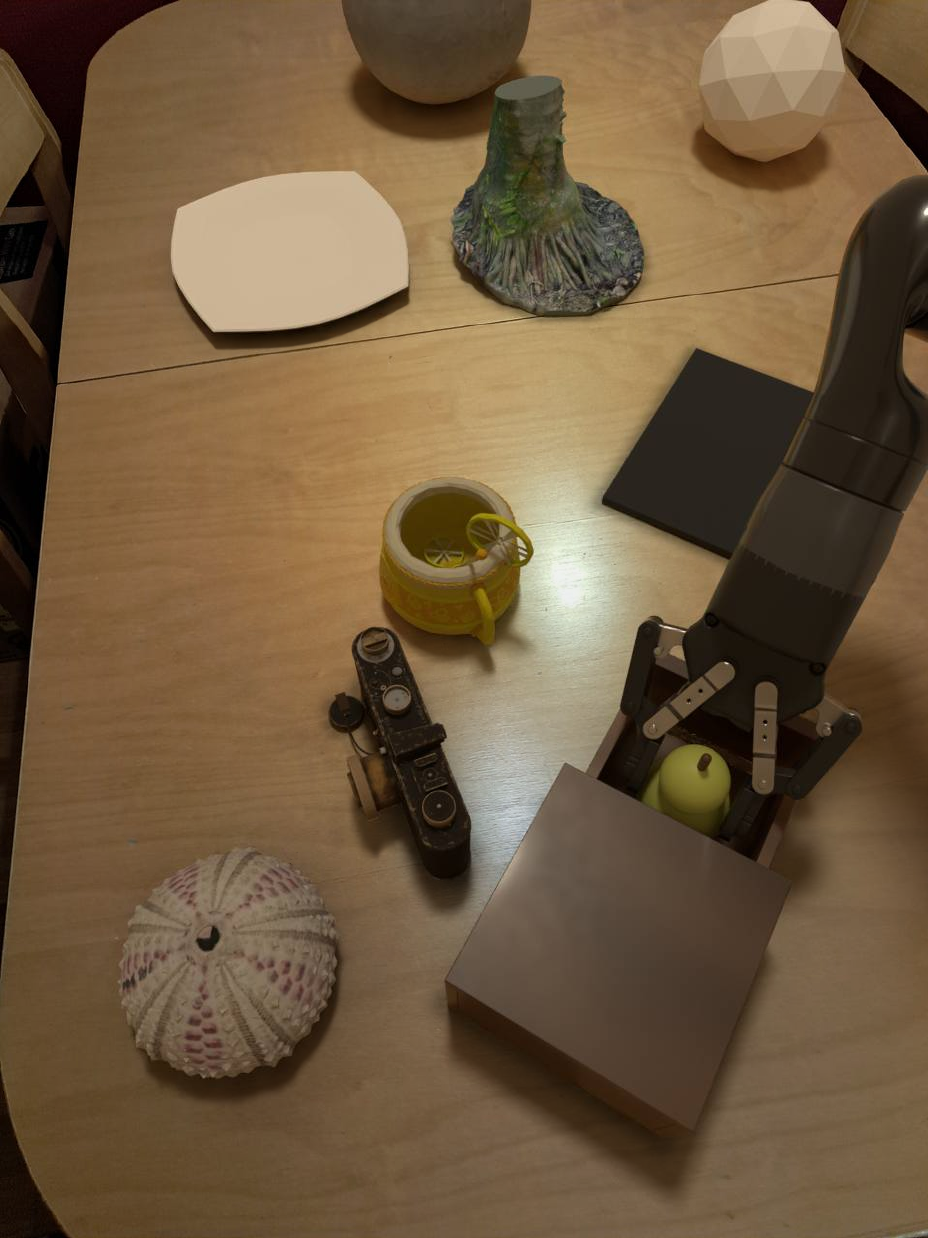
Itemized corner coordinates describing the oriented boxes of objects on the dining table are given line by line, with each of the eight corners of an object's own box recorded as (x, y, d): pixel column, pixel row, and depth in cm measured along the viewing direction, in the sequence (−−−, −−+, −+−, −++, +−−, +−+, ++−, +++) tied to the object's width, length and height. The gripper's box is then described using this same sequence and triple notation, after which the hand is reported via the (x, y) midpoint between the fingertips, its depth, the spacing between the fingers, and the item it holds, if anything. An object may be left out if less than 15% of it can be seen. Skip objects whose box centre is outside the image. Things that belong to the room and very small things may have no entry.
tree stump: (531, 352, 88) (503, 159, 75) (425, 277, 101) (385, 101, 87) (683, 271, 92) (682, 75, 79) (563, 209, 105) (545, 31, 91)
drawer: (652, 643, 70) (669, 595, 65) (824, 724, 67) (858, 681, 61) (544, 844, 63) (551, 809, 57) (732, 947, 59) (761, 922, 53)
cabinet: (553, 809, 65) (565, 762, 57) (753, 916, 61) (793, 880, 54) (447, 1005, 58) (444, 980, 51) (663, 1138, 55) (693, 1133, 47)
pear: (729, 802, 63) (774, 739, 54) (696, 877, 60) (736, 824, 51) (650, 762, 64) (680, 693, 55) (614, 833, 62) (639, 774, 53)
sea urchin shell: (280, 1123, 55) (254, 1116, 48) (87, 1027, 58) (35, 1007, 51) (378, 911, 61) (367, 877, 54) (199, 833, 64) (167, 791, 57)
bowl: (562, 79, 110) (575, -66, 97) (447, 160, 102) (445, 14, 89) (431, 19, 117) (427, -124, 104) (315, 90, 109) (294, -55, 96)
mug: (360, 557, 76) (343, 460, 65) (483, 512, 78) (486, 411, 68) (422, 687, 70) (415, 602, 59) (554, 634, 72) (568, 544, 62)
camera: (318, 692, 69) (302, 639, 63) (403, 664, 71) (396, 608, 64) (389, 903, 62) (380, 869, 55) (484, 867, 63) (486, 829, 56)
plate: (199, 367, 86) (194, 351, 85) (157, 216, 98) (152, 199, 96) (437, 311, 90) (436, 294, 89) (370, 171, 101) (369, 153, 100)
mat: (862, 417, 83) (865, 411, 82) (783, 582, 74) (786, 576, 74) (694, 353, 87) (696, 347, 87) (601, 502, 78) (602, 496, 78)
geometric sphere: (717, 169, 110) (723, 20, 104) (852, 157, 102) (867, -5, 97) (674, 166, 99) (678, -1, 93) (822, 152, 91) (836, -31, 85)
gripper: (676, 515, 51) (558, 776, 56) (938, 629, 48) (787, 897, 53) (693, 508, 58) (587, 740, 63) (924, 606, 54) (792, 845, 59)
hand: (679, 810), depth 58 cm, fingers closed on pear, 5 cm apart
